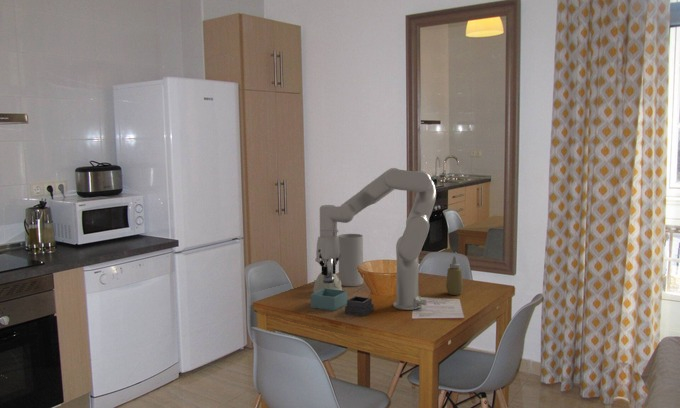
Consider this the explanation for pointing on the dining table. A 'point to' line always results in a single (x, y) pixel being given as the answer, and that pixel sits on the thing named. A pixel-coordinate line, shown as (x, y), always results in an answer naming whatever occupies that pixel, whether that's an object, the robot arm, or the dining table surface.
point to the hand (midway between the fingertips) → (328, 273)
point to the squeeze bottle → (454, 278)
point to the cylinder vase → (350, 259)
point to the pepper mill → (329, 272)
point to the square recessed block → (359, 306)
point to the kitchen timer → (320, 285)
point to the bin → (329, 299)
